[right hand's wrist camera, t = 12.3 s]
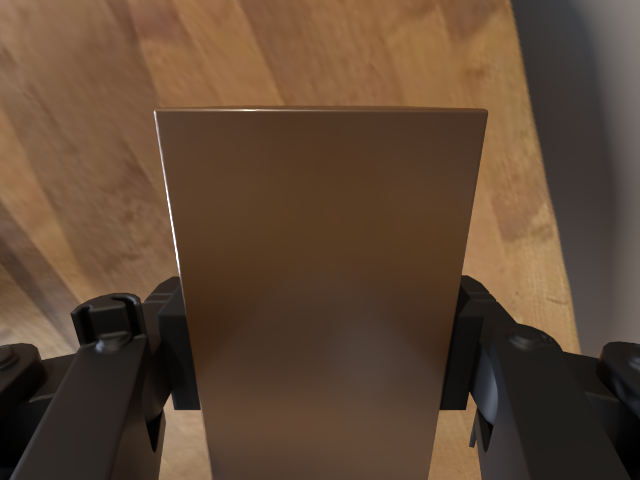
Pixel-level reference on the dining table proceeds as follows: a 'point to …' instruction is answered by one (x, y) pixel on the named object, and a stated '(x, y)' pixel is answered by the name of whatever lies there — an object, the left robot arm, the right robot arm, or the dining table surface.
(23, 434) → the right robot arm
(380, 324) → the post
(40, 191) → the dining table surface
